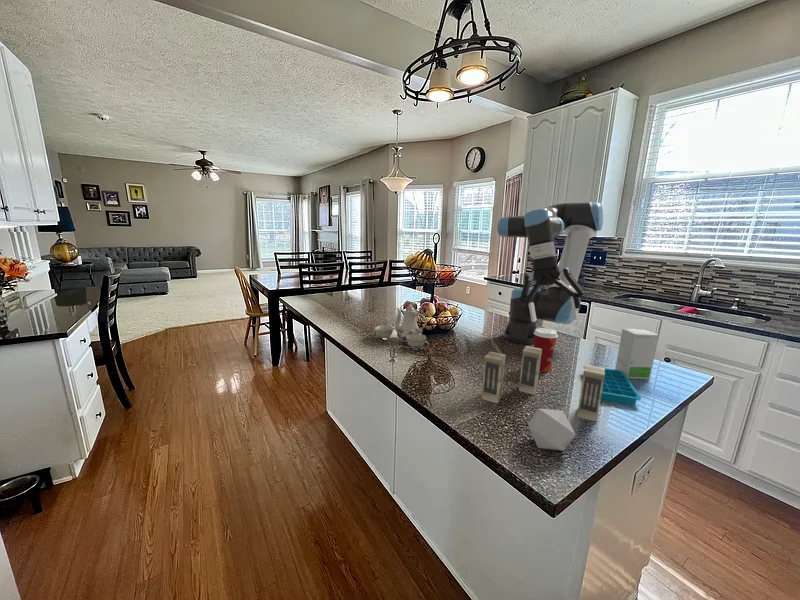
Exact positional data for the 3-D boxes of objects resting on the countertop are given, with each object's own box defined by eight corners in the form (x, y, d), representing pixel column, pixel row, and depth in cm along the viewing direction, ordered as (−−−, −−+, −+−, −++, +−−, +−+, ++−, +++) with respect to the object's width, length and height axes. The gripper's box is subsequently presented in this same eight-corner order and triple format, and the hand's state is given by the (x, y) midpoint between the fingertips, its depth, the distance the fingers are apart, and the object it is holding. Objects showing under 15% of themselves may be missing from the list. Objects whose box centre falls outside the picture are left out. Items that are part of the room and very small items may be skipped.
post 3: (578, 408, 89) (584, 364, 86) (597, 413, 87) (604, 368, 84) (577, 417, 85) (583, 370, 82) (596, 422, 83) (604, 375, 80)
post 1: (486, 392, 97) (489, 351, 94) (501, 396, 95) (505, 354, 92) (481, 399, 93) (484, 356, 90) (497, 403, 91) (500, 360, 88)
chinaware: (368, 343, 141) (365, 307, 136) (391, 330, 154) (389, 297, 149) (422, 359, 126) (421, 318, 121) (443, 343, 138) (443, 306, 133)
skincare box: (625, 379, 108) (634, 334, 104) (613, 370, 114) (620, 328, 111) (651, 379, 108) (660, 334, 104) (637, 371, 114) (645, 328, 111)
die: (562, 468, 68) (589, 428, 68) (524, 439, 69) (551, 401, 70) (550, 455, 76) (574, 419, 76) (516, 430, 78) (540, 395, 78)
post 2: (521, 385, 102) (526, 345, 99) (537, 388, 100) (541, 348, 97) (518, 391, 98) (522, 350, 95) (534, 395, 96) (539, 353, 93)
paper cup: (555, 374, 110) (561, 335, 107) (531, 372, 112) (536, 333, 109) (550, 365, 118) (554, 328, 115) (527, 363, 119) (531, 326, 116)
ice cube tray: (621, 379, 108) (622, 370, 108) (640, 409, 90) (642, 399, 89) (582, 373, 112) (583, 365, 112) (592, 401, 94) (594, 391, 93)
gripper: (503, 265, 113) (514, 324, 114) (581, 249, 96) (593, 320, 97) (512, 263, 118) (523, 319, 120) (588, 248, 101) (600, 314, 102)
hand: (554, 320), depth 108 cm, fingers open, 13 cm apart
